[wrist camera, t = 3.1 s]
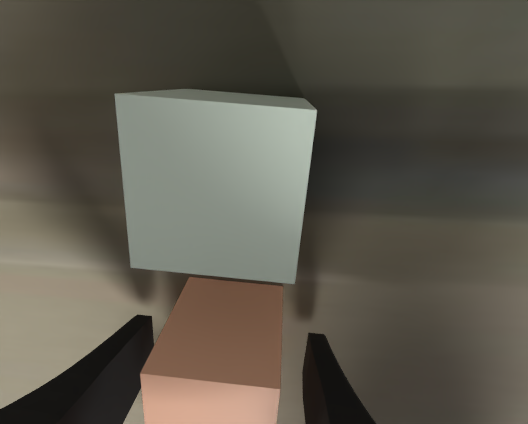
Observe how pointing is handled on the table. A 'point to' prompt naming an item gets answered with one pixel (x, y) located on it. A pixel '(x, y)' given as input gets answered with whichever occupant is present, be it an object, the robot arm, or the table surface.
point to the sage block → (215, 181)
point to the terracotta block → (217, 356)
